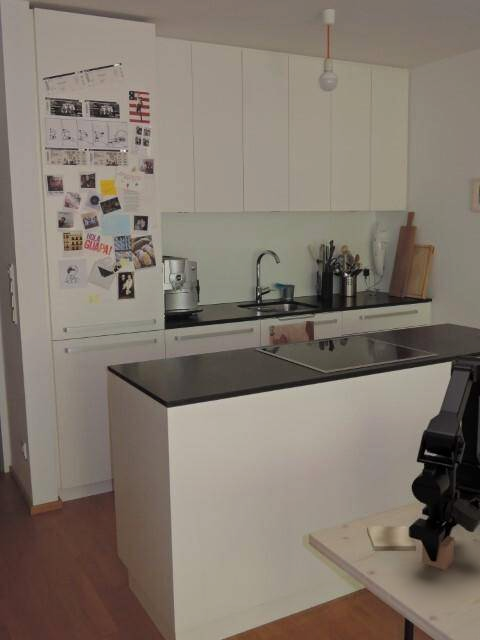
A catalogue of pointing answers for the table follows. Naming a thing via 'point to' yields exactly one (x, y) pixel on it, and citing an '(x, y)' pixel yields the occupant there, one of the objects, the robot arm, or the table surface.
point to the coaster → (390, 538)
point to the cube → (441, 554)
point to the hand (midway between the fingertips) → (437, 555)
